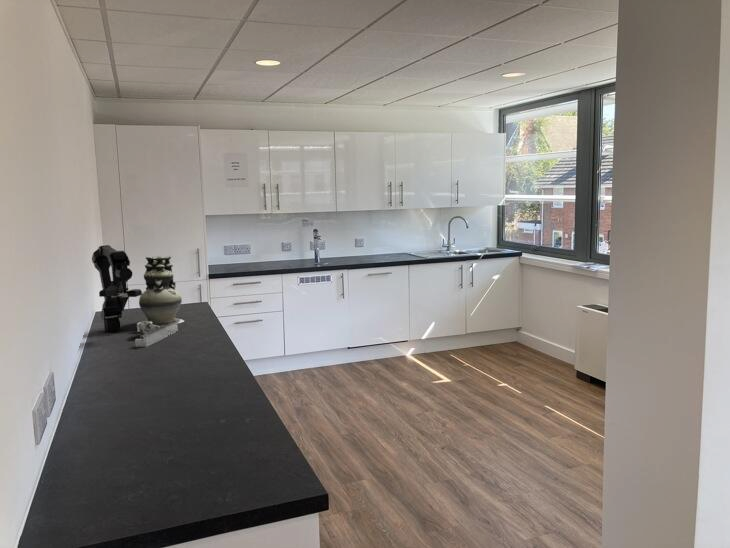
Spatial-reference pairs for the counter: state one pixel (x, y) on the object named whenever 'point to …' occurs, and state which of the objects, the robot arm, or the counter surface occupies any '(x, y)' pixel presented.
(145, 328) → the rock
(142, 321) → the module
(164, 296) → the decorative urn
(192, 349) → the counter surface
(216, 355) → the counter surface
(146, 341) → the bracket
